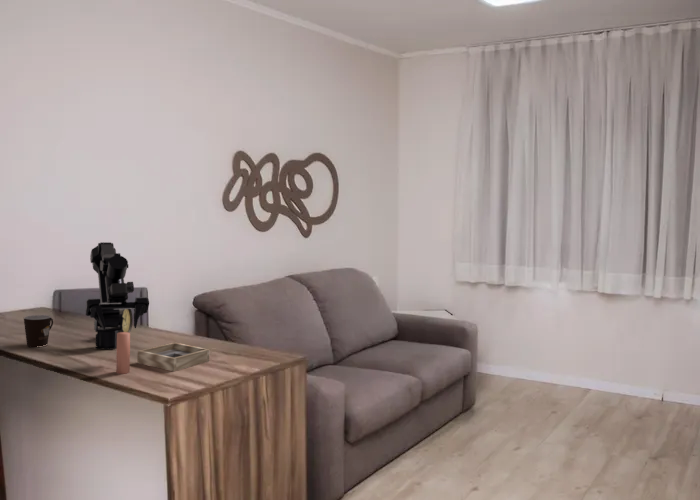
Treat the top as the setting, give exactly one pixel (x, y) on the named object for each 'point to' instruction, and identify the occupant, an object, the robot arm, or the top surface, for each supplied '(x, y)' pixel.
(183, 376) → the top surface
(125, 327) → the alarm clock
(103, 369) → the top surface
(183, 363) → the box
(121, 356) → the peg
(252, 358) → the top surface
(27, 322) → the coffee mug
